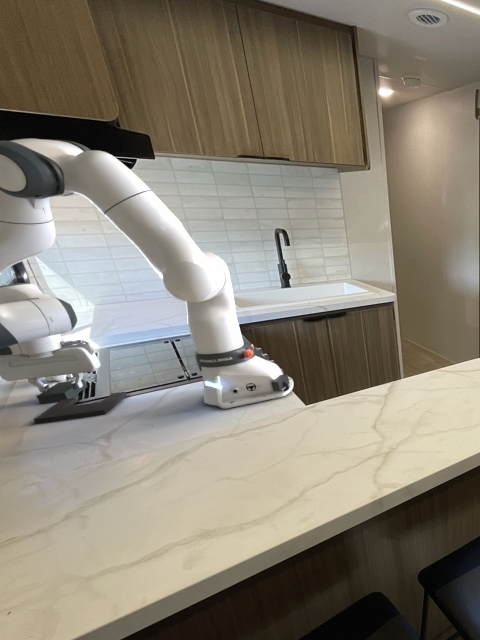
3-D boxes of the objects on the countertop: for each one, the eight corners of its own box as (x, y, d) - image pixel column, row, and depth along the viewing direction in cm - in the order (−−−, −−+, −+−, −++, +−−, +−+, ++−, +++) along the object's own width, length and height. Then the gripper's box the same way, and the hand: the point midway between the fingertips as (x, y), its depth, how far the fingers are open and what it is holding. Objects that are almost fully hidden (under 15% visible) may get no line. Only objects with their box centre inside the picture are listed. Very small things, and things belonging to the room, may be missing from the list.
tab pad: (87, 386, 121) (84, 379, 120) (68, 400, 112) (64, 392, 111) (61, 389, 119) (58, 382, 118) (40, 403, 110) (36, 396, 109)
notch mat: (126, 395, 115) (125, 391, 114) (105, 413, 104) (103, 409, 104) (63, 403, 110) (62, 399, 110) (35, 423, 100) (33, 419, 99)
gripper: (94, 336, 115) (112, 380, 121) (-1, 344, 109) (23, 390, 114) (82, 342, 110) (102, 388, 115) (-19, 351, 103) (7, 399, 109)
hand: (62, 389), depth 115 cm, fingers closed on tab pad, 6 cm apart
